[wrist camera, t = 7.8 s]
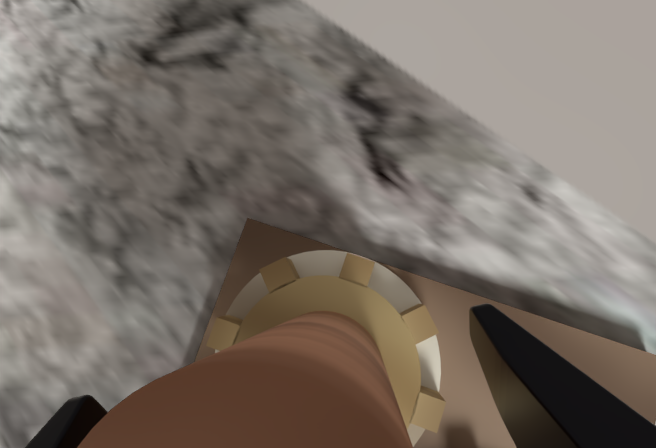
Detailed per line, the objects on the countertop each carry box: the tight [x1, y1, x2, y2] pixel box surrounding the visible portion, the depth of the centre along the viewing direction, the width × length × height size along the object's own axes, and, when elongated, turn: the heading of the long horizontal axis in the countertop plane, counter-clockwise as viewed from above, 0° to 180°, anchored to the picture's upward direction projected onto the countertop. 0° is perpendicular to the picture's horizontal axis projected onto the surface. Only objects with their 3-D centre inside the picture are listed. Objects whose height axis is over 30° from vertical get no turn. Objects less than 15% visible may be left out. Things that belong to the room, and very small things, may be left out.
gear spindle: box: [77, 253, 446, 448], centre depth 11 cm, size 9×9×12 cm
